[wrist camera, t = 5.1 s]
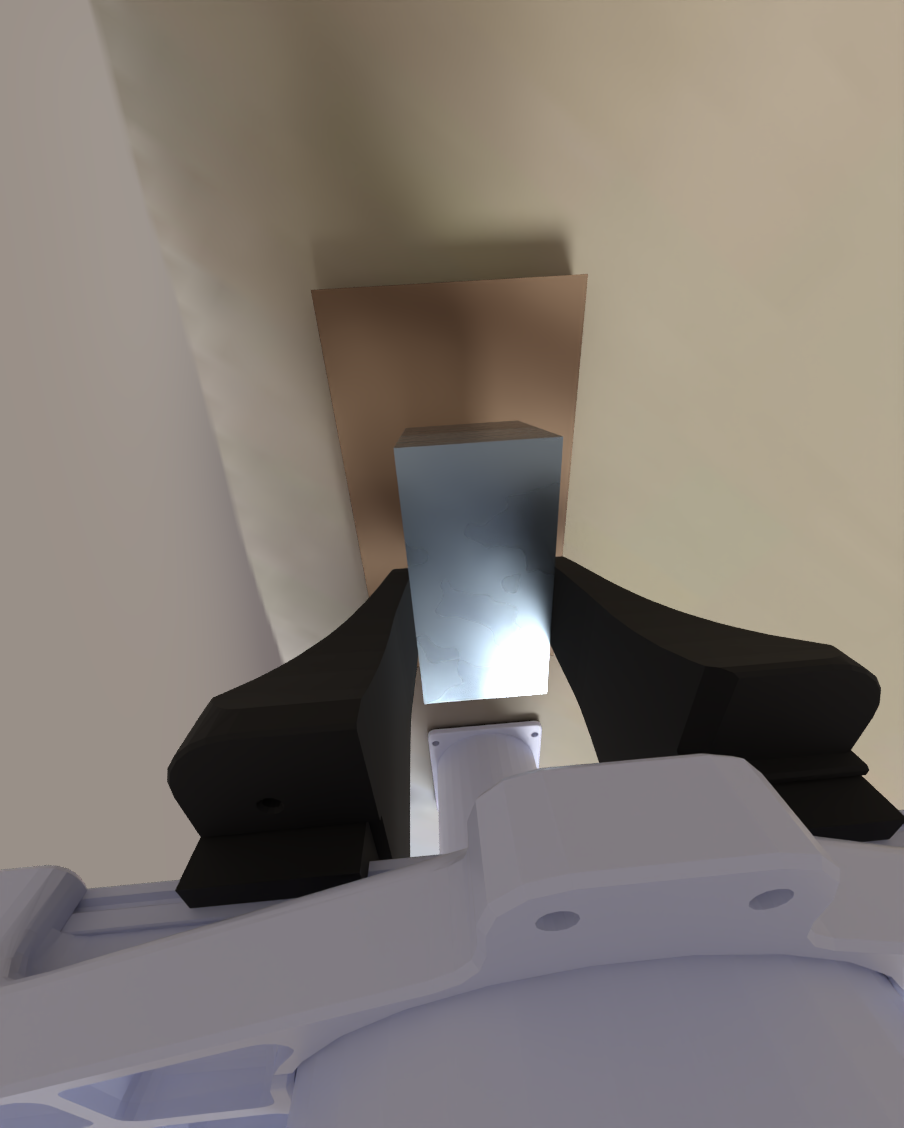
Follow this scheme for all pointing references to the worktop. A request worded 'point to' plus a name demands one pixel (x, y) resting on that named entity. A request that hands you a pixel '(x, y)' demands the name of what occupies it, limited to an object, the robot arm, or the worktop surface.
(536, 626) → the block
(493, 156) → the worktop surface
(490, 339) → the stand
